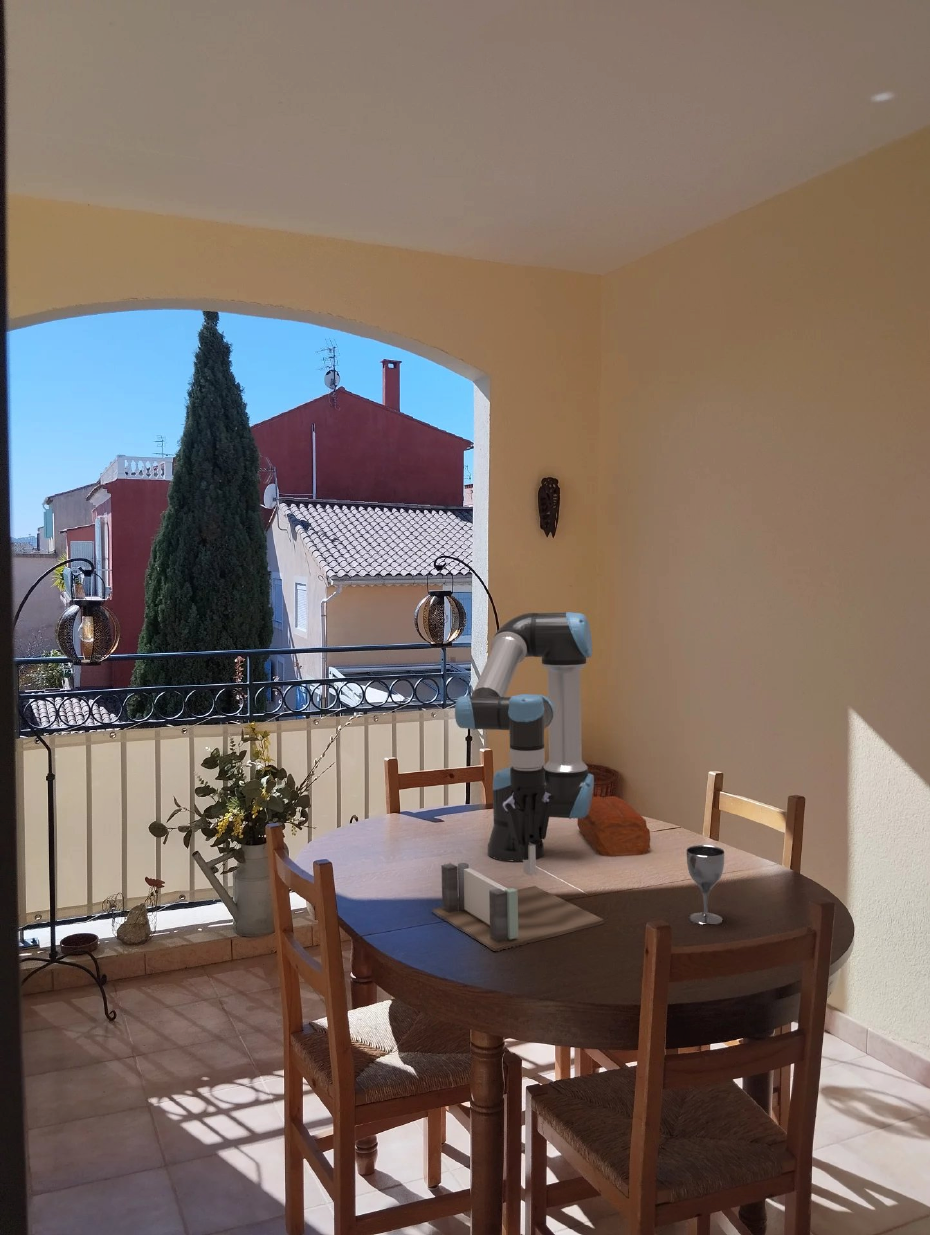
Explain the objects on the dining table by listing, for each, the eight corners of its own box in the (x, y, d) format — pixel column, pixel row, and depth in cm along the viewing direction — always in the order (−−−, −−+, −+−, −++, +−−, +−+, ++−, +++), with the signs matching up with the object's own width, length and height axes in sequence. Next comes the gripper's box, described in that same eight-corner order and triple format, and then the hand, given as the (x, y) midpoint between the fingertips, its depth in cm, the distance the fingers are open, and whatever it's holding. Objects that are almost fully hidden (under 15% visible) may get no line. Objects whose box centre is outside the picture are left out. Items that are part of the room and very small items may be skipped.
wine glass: (725, 914, 209) (725, 846, 208) (723, 927, 201) (723, 857, 201) (688, 910, 212) (688, 844, 211) (685, 923, 204) (684, 854, 203)
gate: (456, 908, 213) (455, 863, 212) (466, 906, 214) (465, 861, 214) (509, 941, 194) (508, 892, 193) (519, 938, 195) (518, 890, 194)
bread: (626, 827, 279) (626, 792, 278) (654, 855, 253) (654, 815, 252) (574, 830, 277) (574, 794, 277) (596, 858, 251) (596, 818, 250)
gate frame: (432, 913, 213) (431, 865, 212) (534, 889, 227) (534, 844, 227) (494, 952, 191) (493, 899, 190) (604, 923, 205) (603, 874, 204)
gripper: (541, 759, 212) (543, 862, 214) (492, 767, 206) (495, 874, 208) (562, 765, 206) (563, 872, 208) (511, 774, 199) (514, 884, 201)
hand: (529, 872), depth 208 cm, fingers closed
